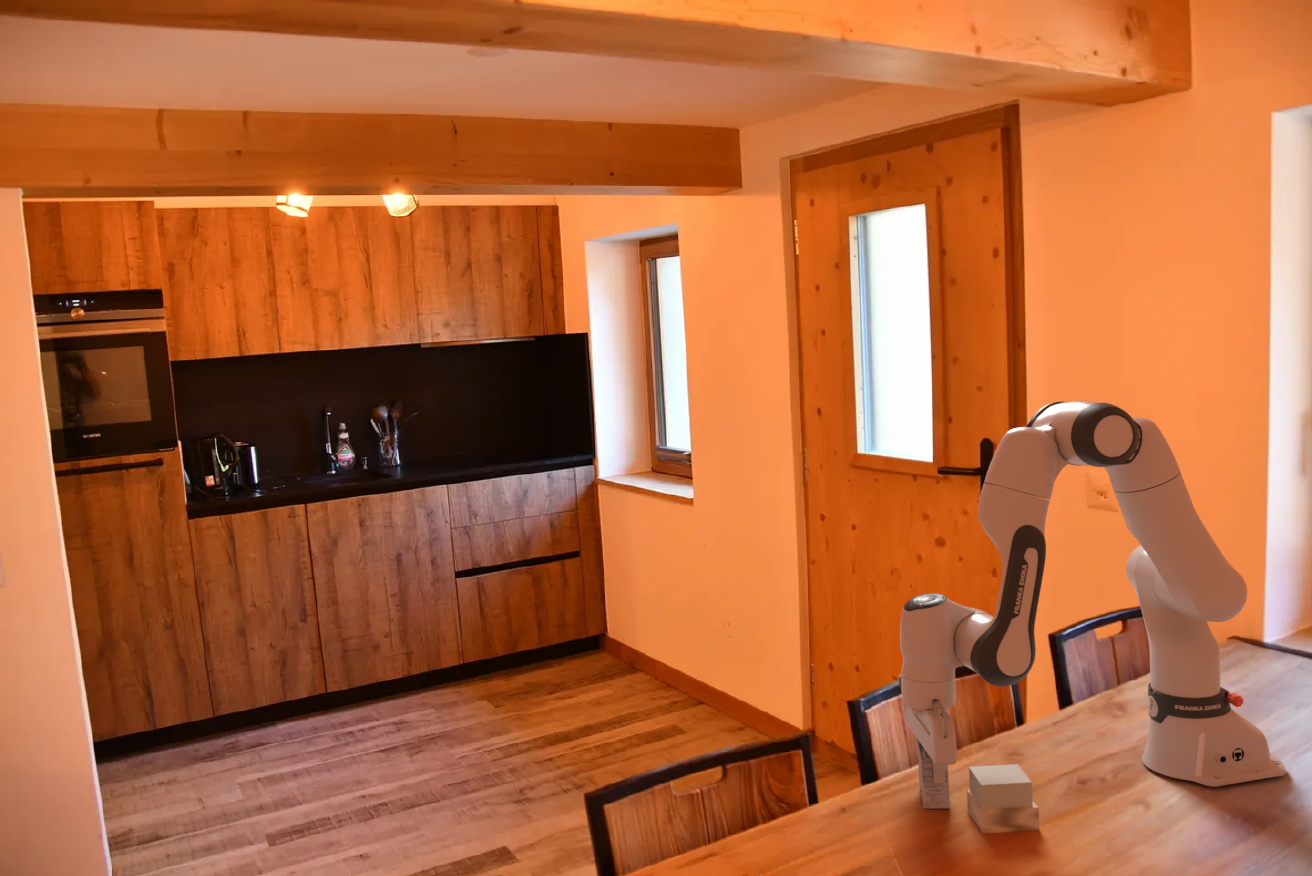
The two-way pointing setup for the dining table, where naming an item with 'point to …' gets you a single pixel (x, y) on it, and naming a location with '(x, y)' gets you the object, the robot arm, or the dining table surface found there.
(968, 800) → the tower base
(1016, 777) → the tower top
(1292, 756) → the dining table surface
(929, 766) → the medicine box
